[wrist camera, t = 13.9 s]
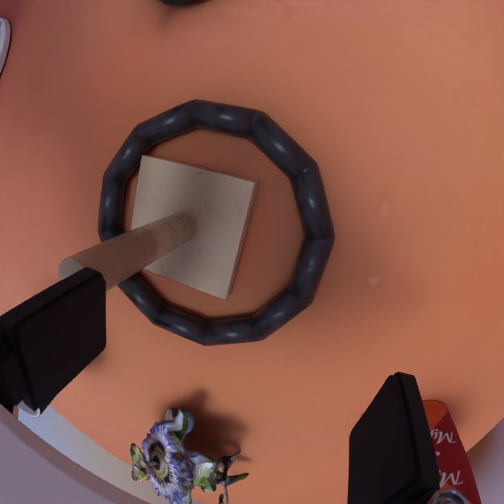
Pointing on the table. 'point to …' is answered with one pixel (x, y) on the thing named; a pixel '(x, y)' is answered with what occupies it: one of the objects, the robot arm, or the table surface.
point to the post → (177, 228)
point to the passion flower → (179, 461)
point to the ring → (306, 196)
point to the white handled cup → (175, 1)
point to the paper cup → (450, 452)
